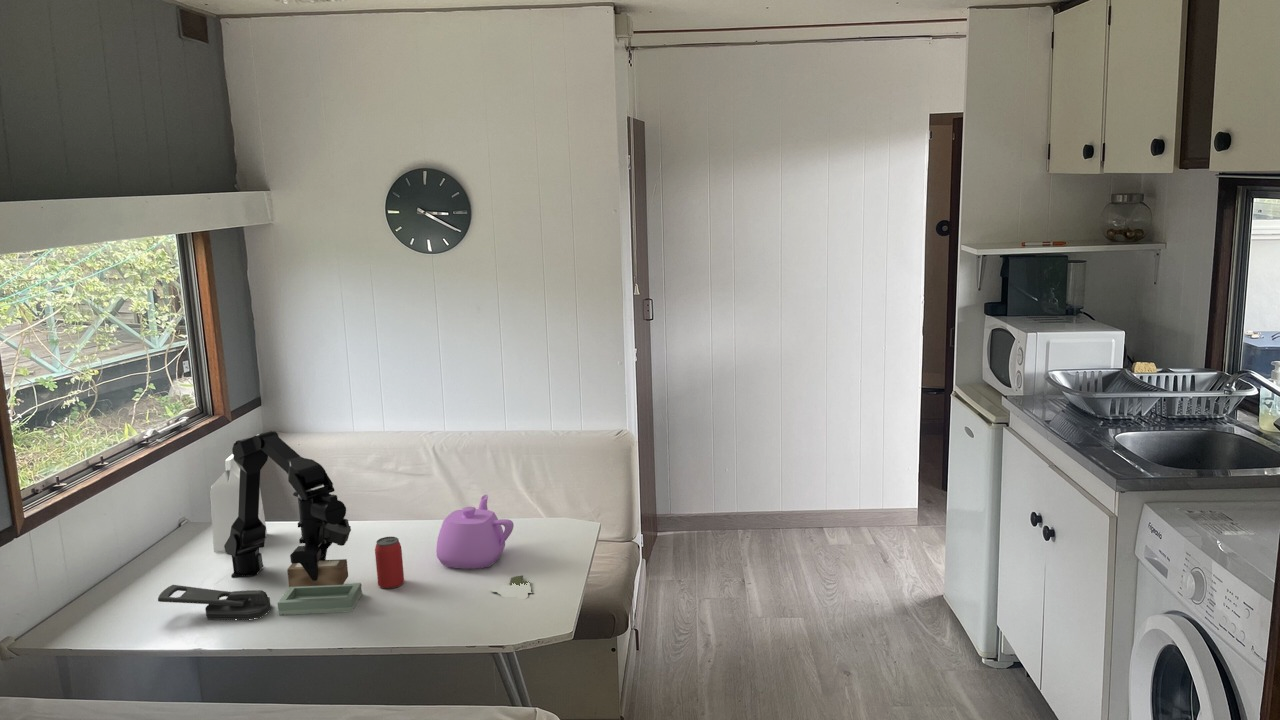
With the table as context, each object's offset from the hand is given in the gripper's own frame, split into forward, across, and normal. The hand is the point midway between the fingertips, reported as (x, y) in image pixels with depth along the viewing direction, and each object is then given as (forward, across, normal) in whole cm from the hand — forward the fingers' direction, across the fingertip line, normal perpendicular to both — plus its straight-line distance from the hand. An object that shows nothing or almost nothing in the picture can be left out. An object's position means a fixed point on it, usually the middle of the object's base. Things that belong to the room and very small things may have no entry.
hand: (318, 575), depth 232 cm
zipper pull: (+8, -3, +24) cm, 26 cm away
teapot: (+8, +24, -34) cm, 42 cm away
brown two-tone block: (+2, 0, 0) cm, 2 cm away
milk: (+8, +44, +36) cm, 57 cm away
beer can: (+8, +10, -15) cm, 20 cm away
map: (+8, +1, -47) cm, 48 cm away
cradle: (+7, 0, 0) cm, 7 cm away
